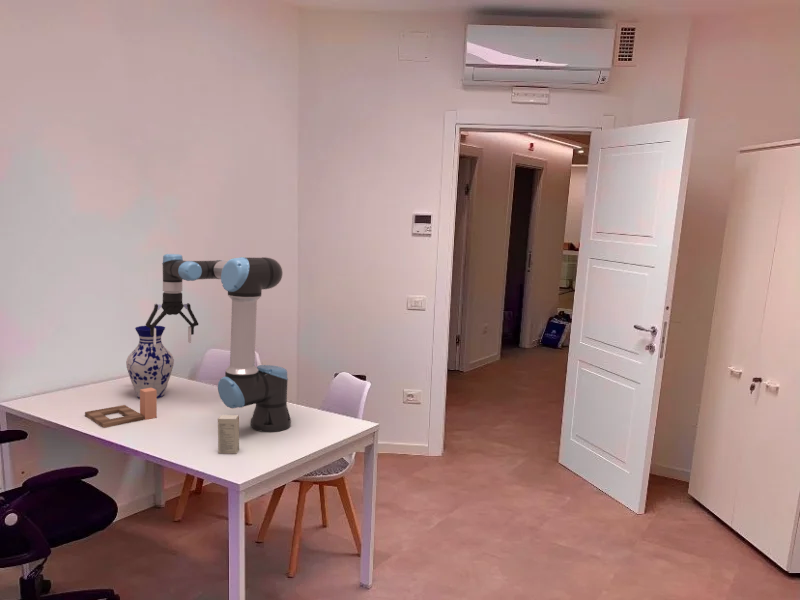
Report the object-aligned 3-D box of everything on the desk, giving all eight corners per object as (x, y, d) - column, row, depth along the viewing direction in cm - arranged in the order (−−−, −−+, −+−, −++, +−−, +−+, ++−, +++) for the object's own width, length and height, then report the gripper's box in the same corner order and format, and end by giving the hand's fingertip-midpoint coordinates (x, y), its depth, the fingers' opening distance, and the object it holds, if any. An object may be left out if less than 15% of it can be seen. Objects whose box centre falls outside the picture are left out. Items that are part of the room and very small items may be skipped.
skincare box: (239, 449, 206) (240, 414, 204) (236, 454, 201) (237, 418, 200) (220, 448, 205) (220, 414, 204) (217, 453, 201) (217, 418, 200)
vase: (174, 400, 256) (174, 331, 252) (125, 403, 249) (124, 332, 245) (173, 388, 274) (173, 323, 270) (127, 391, 267) (127, 324, 263)
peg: (156, 417, 234) (156, 390, 232) (145, 419, 230) (145, 392, 229) (151, 414, 237) (151, 387, 235) (140, 417, 233) (139, 389, 232)
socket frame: (144, 419, 230) (144, 416, 230) (103, 428, 220) (103, 424, 219) (124, 408, 243) (124, 404, 242) (85, 415, 232) (84, 411, 232)
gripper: (202, 290, 254) (202, 340, 257) (138, 291, 243) (138, 342, 245) (205, 292, 248) (205, 343, 251) (140, 293, 236) (140, 346, 239)
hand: (172, 343), depth 248 cm, fingers open, 13 cm apart
